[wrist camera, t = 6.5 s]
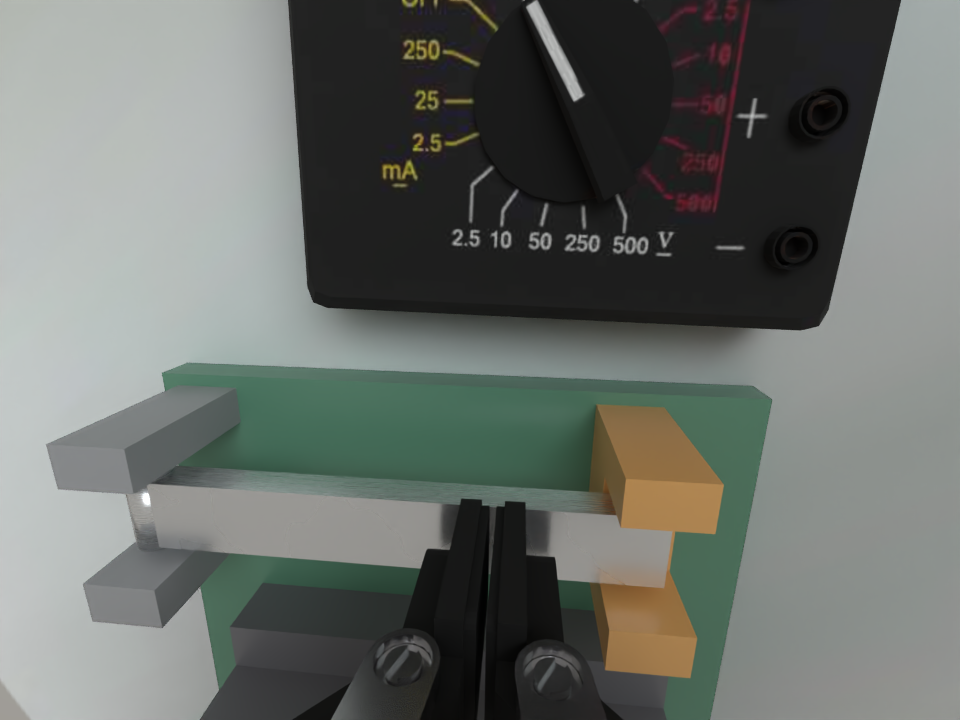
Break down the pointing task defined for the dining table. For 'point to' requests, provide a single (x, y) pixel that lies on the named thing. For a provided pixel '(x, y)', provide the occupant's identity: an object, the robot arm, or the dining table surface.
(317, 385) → the cooler board
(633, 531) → the strap
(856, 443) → the dining table surface
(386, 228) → the multimeter
